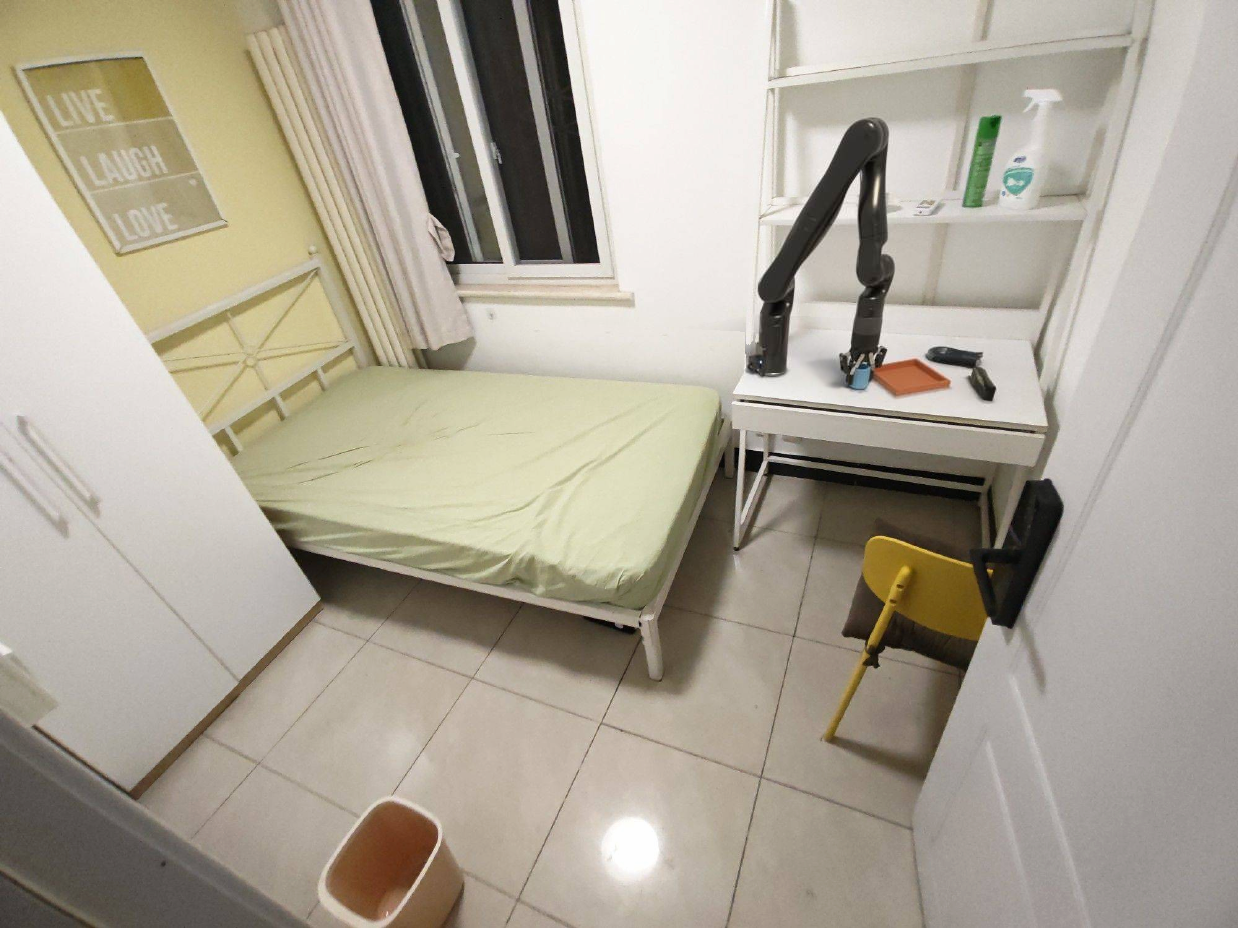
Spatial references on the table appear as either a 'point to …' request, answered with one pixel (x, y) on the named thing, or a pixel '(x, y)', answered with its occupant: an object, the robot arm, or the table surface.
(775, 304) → the robot arm
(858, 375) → the blue hollow tube
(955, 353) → the electronic device
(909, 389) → the tray
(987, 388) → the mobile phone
